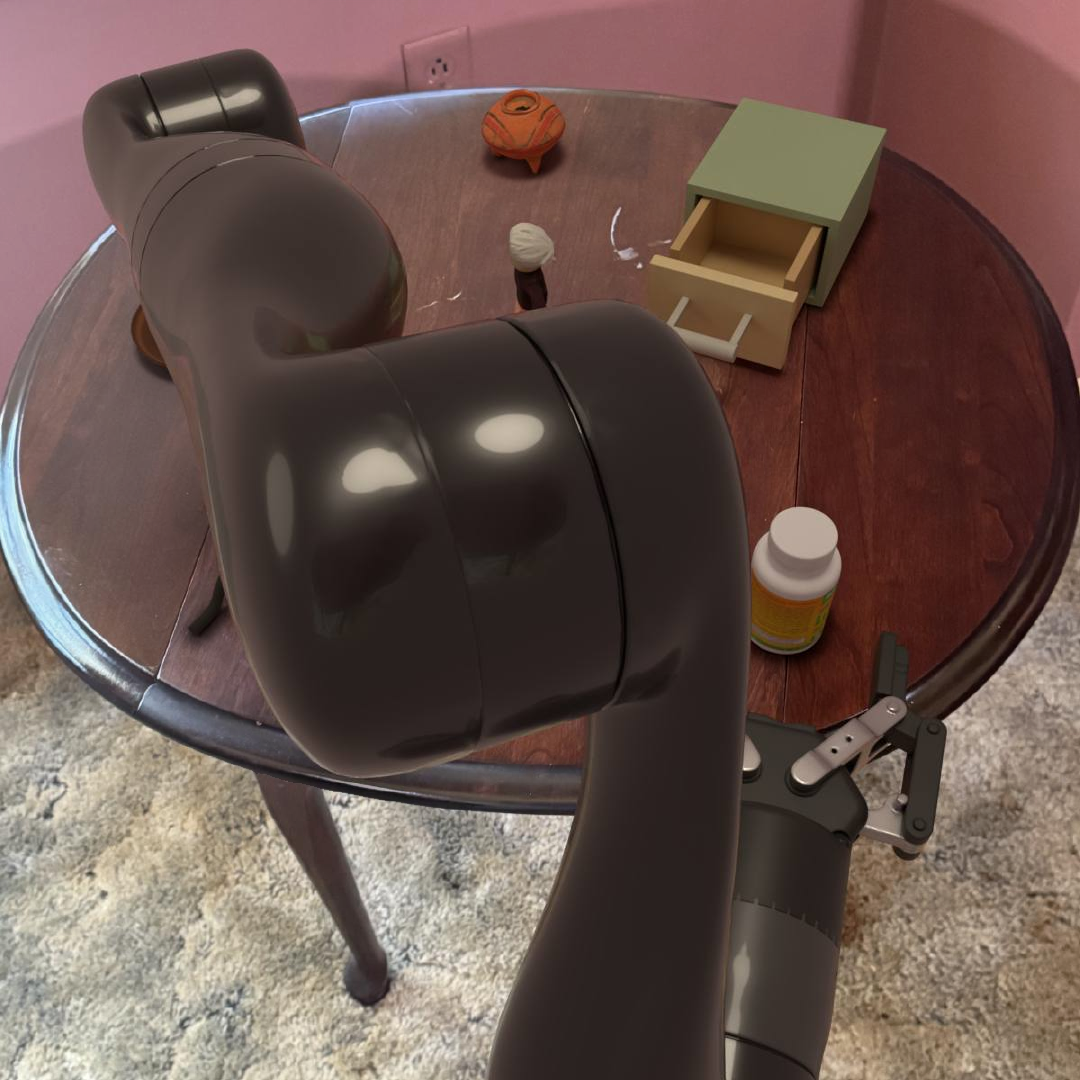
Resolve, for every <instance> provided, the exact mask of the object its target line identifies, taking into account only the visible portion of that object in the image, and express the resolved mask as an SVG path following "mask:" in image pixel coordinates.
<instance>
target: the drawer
mask: <svg viewBox="0 0 1080 1080" xmlns="http://www.w3.org/2000/svg"><path fill="white" fill-rule="evenodd" d="M828 229H829V227H826V226H822V225H818V224H814V223H810V222H806V221H802V220H798V219H794V218H790V217H786V216H782V215H778V214H774V213H770V212H766V211H762V210H758V209H754V208H751V207H747V206H743V205H739V204H735V203H731V202H727V201H723V200H719V199H715V198H711V197H707V196H703V197H702V199H701V200H700V202H699V203H698V205H697V206H696V208H695V210H694V211H693V213H692V214H691V216H690V217H689V219H688V221H687V222H686V224H685V225H684V224H683V227H682V228H681V230H680V232H679V233H678V235H677V236H676V238H675V240H674V241H673V243H672V245H670V248H669V254H668V256H664V255H660V254H656V253H655V254H654V255H653V257H652V258H651V260H650V262H649V264H648V265H649V266H648V281H647V282H648V283H647V301H646V309H649V310H650V311H651V312H653V313H654V314H656V315H657V316H659V317H660V318H661V319H662V320H663V321H665V322H666V323H667V324H668V325H669V326H670V327H672V328H673V329H674V330H675V331H676V332H677V333H678V334H679V335H680V336H681V338H682V339H683V340H684V341H685V343H686V344H687V345H688V347H689V348H690V349H691V351H692V352H693V353H696V354H699V355H704V356H707V357H709V358H713V359H717V360H720V361H723V362H727V363H730V364H733V363H734V362H735V361H736V359H737V358H740V359H743V360H746V361H750V362H753V363H757V364H759V365H763V366H767V367H769V368H770V367H771V368H774V369H777V370H782V368H783V366H784V365H785V362H786V361H787V354H788V349H789V344H790V339H791V334H792V329H793V325H794V323H795V321H796V319H797V317H798V315H799V313H800V311H801V309H802V307H803V305H804V304H805V303H804V301H805V299H806V297H807V295H808V293H809V291H810V289H811V287H812V285H813V283H814V281H815V279H816V277H817V275H818V273H819V271H820V268H821V263H822V258H823V253H824V249H825V244H826V239H827V234H828Z"/></svg>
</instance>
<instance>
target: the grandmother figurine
mask: <svg viewBox="0 0 1080 1080" xmlns="http://www.w3.org/2000/svg"><path fill="white" fill-rule="evenodd" d="M508 253H509V260H510V263H511V264H512V266H513V267H514V270H513V277H514V283H515V287H516V290H515V291H516V293H515V294H516V298H515V306H514V313H520V312H525V311H530V310H535V309H540V308H545V307H547V304H548V297H549V291H548V286H547V283H546V279H545V275H544V272H543V269H542V267H541V266H542V265H543V266H544V265H545V263H546V262H547V261H551V260H552V258H553V257H554V255H555V246H554V242H553V240H552V239H551V238H550V236H548V233H546V231H545V230H544V229H543V228H542V227H541V226H538V225H535V224H532V223H530V222H520V223H517V224H516V225H514V226H513V227H511V229H510V232H509V252H508ZM514 313H513V314H514Z"/></svg>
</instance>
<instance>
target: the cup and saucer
mask: <svg viewBox="0 0 1080 1080" xmlns="http://www.w3.org/2000/svg"><path fill="white" fill-rule="evenodd" d="M130 334H131V338H132V341H133V343H134V345H135V347H136V348H137V349H138V351H139V352H140V353H141V354H142V355H143V356H144V357H145V358H146V359H148V360H149V361H150V362H153V363H154V364H156V365H158V366H161V367H164V368H167V366H166V364H165V362H164V359H163V357H162V355H161V353H160V351H159V348H158V346H157V344H156V342H155V340H154V338H153V335H152V333H151V331H150V329H149V326H148V323H147V321H146V317H145V315H144V312H143V309H142V306H141V303H140V304H139V305H138V307H137V308H136V310H135V311H134V313H133V316H132V318H131V323H130Z"/></svg>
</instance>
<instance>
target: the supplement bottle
mask: <svg viewBox="0 0 1080 1080" xmlns="http://www.w3.org/2000/svg"><path fill="white" fill-rule="evenodd" d="M838 540H839V533H838V529H837V527H836V524H835V523H834V521H833V520H832V519H831V518H830V517H829V516H827V515H826V514H825V513H824V512H822V511H819V510H817V509H816V508H812V507H808V506H806V507H805V506H794V507H789V508H786V509H783V510H782V511H781V512H779V513H777V515H775V516H774V518H773V519H772V521H771V523H770V527H769V530H768V531H767V532H766V533H764V534H762V537H760V539H758V541H757V543H756V545H755V546H754V547H755V548H754V549H753V554H752V556H751V557H752V558H751V576H752V622H751V642H753V643H754V644H755V645H757V646H758V647H760V648H761V649H762V650H765V651H767V652H770V653H773V654H778V655H795V654H799V653H803V652H805V651H807V650H808V649H810V648H811V647H813V646H814V645H815V644H817V642H818V640H819V639H820V637H821V635H822V634H823V631H824V629H825V624H826V622H827V617H828V615H829V612H830V609H831V605H832V602H833V599H834V596H835V593H836V589H837V585H838V584H839V580H840V577H841V572H842V558H841V555H840V554H841V553H840V552H839V549H838V547H837V545H838Z"/></svg>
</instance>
